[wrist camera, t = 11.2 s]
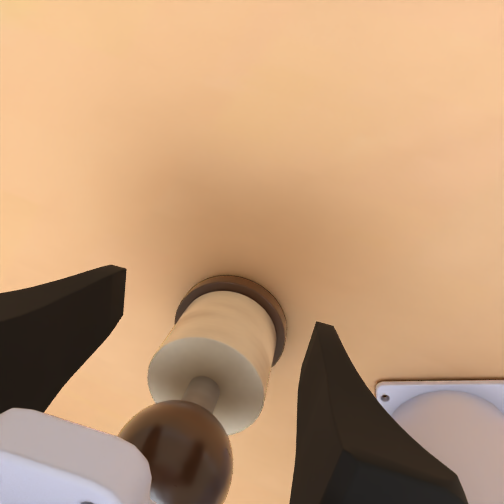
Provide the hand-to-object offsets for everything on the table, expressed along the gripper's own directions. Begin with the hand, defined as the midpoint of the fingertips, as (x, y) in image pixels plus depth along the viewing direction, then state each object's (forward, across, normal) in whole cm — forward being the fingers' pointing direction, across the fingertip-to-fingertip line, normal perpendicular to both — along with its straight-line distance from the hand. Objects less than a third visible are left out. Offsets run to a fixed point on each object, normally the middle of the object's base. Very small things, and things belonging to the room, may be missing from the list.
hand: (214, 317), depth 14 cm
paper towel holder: (+9, 0, +6) cm, 11 cm away
